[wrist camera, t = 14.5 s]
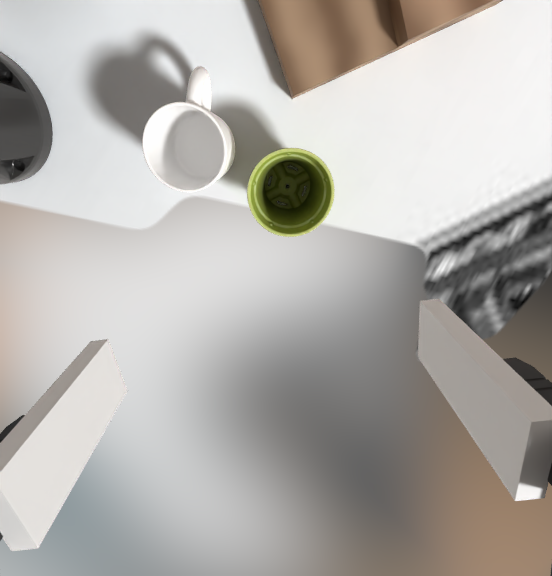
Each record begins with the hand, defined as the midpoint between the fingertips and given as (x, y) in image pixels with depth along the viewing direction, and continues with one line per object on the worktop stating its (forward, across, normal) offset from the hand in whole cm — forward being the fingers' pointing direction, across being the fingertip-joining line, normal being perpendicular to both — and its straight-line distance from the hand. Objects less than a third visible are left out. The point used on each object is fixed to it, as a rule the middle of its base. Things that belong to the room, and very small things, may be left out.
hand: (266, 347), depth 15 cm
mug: (+35, -7, +10) cm, 37 cm away
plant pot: (+35, +3, +2) cm, 35 cm away
